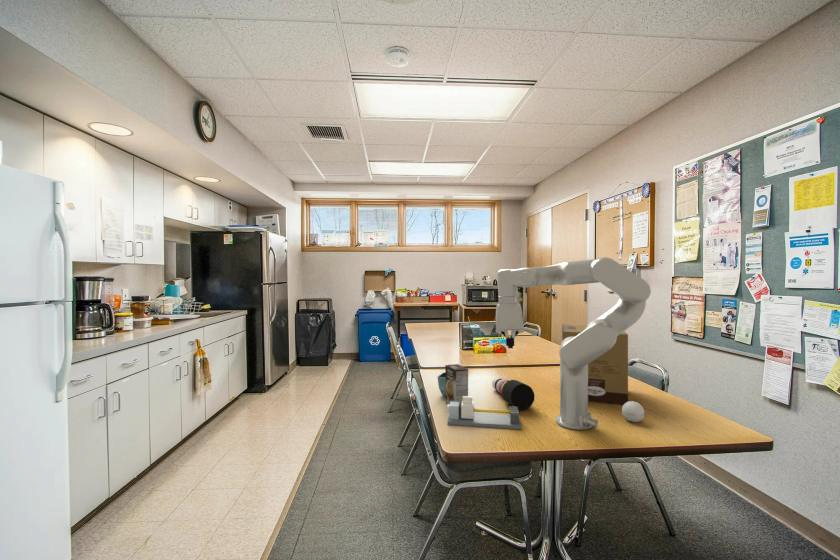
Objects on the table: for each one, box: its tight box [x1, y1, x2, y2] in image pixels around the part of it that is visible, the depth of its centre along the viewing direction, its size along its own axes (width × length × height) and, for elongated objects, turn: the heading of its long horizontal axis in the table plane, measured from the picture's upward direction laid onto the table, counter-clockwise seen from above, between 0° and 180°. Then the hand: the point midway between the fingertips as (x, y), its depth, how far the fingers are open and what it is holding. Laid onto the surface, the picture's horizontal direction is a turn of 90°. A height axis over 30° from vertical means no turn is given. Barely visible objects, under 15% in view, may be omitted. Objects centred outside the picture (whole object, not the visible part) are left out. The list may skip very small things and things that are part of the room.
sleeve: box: [461, 395, 475, 419], centre depth 138 cm, size 4×5×7 cm
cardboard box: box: [561, 323, 629, 406], centre depth 169 cm, size 26×26×30 cm
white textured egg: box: [621, 400, 650, 423], centre depth 135 cm, size 10×7×7 cm
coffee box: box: [444, 363, 469, 405], centre depth 155 cm, size 9×6×16 cm
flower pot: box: [437, 371, 446, 397], centre depth 168 cm, size 9×9×9 cm
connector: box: [446, 401, 461, 419], centre depth 139 cm, size 5×5×5 cm
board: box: [447, 406, 522, 430], centre depth 137 cm, size 26×10×5 cm, turn 80°
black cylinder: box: [491, 377, 536, 411], centre depth 164 cm, size 10×34×10 cm, turn 5°
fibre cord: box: [473, 407, 510, 415], centre depth 137 cm, size 22×1×1 cm, turn 80°
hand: (510, 347), depth 143 cm, fingers closed
